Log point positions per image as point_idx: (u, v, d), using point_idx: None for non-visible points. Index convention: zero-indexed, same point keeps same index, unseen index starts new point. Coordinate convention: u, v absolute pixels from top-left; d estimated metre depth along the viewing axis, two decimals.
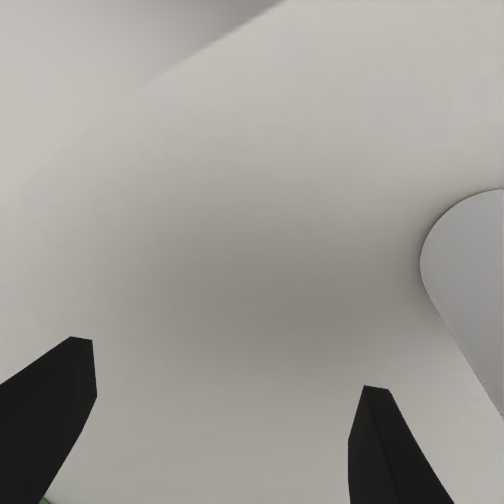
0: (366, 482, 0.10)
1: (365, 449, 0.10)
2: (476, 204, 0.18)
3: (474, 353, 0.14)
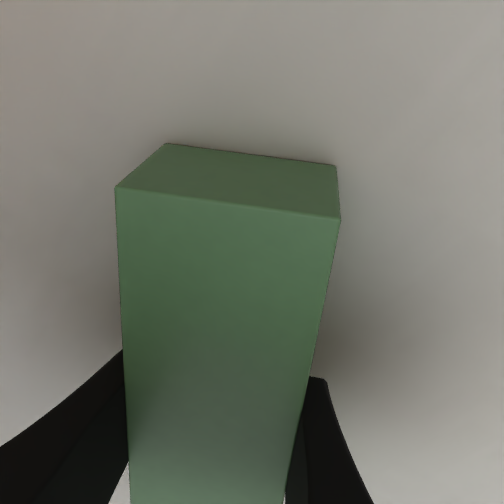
0: (293, 469, 0.10)
1: None
2: None
3: None
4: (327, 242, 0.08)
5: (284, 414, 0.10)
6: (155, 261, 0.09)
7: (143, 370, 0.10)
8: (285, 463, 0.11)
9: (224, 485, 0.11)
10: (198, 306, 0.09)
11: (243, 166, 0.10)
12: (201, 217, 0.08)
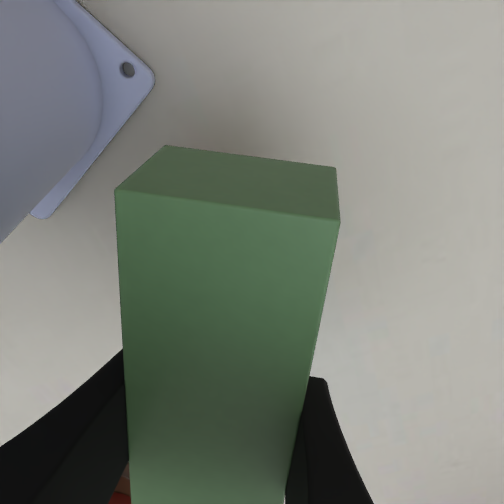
0: (294, 468, 0.10)
1: None
2: None
3: None
4: (326, 245, 0.08)
5: (284, 415, 0.10)
6: (155, 263, 0.09)
7: (143, 372, 0.10)
8: (285, 464, 0.11)
9: (224, 486, 0.12)
10: (198, 307, 0.09)
11: (243, 168, 0.10)
12: (200, 219, 0.08)
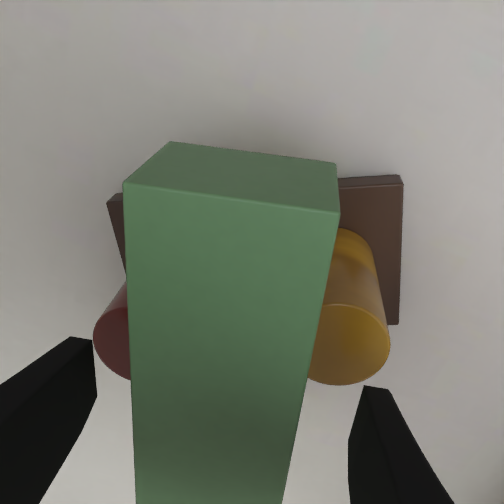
0: (366, 481, 0.10)
1: (365, 449, 0.10)
2: None
3: None
4: (326, 236, 0.08)
5: (285, 403, 0.10)
6: (161, 255, 0.09)
7: (149, 361, 0.10)
8: (286, 452, 0.11)
9: (226, 474, 0.12)
10: (202, 298, 0.09)
11: (246, 163, 0.10)
12: (206, 211, 0.08)
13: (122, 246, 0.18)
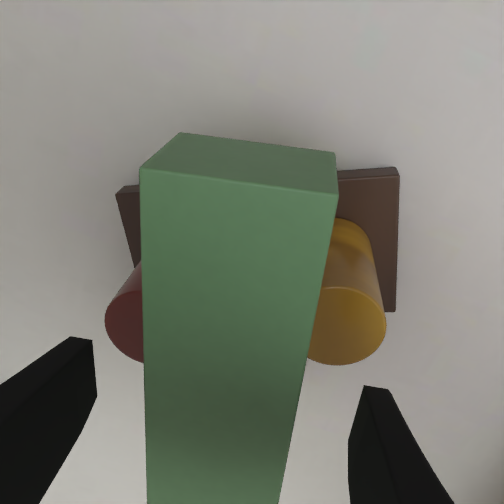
0: (366, 481, 0.10)
1: (365, 449, 0.10)
2: None
3: None
4: (326, 217, 0.09)
5: (287, 376, 0.11)
6: (173, 235, 0.10)
7: (161, 336, 0.11)
8: (288, 423, 0.12)
9: (232, 444, 0.13)
10: (211, 275, 0.10)
11: (251, 152, 0.11)
12: (216, 194, 0.09)
13: (130, 236, 0.19)
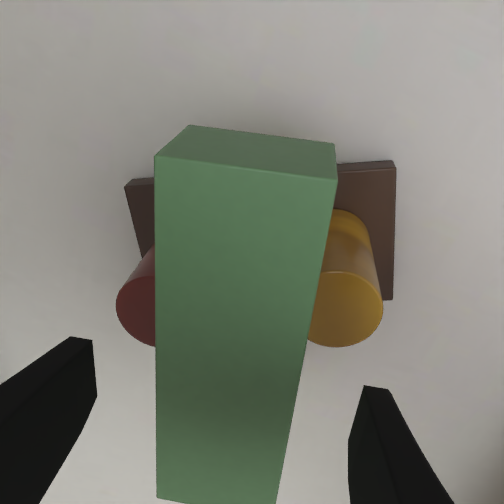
0: (366, 481, 0.10)
1: (365, 449, 0.10)
2: None
3: None
4: (326, 200, 0.10)
5: (290, 352, 0.12)
6: (185, 218, 0.11)
7: (172, 314, 0.12)
8: (291, 397, 0.13)
9: (238, 419, 0.13)
10: (220, 256, 0.11)
11: (256, 142, 0.12)
12: (225, 180, 0.10)
13: (138, 227, 0.20)
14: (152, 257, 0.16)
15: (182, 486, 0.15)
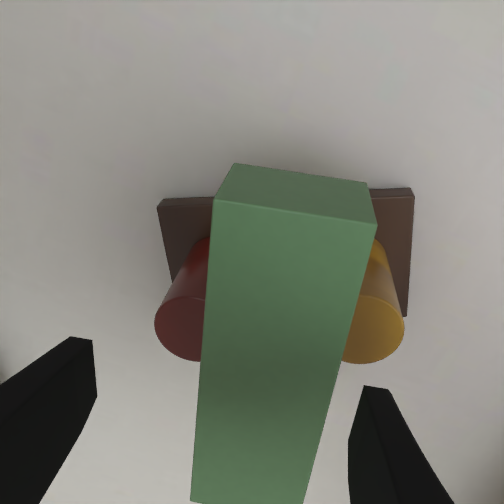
0: (366, 482, 0.10)
1: (365, 449, 0.10)
2: None
3: None
4: (366, 241, 0.11)
5: (325, 372, 0.13)
6: (237, 253, 0.12)
7: (218, 337, 0.13)
8: (323, 412, 0.14)
9: (272, 431, 0.15)
10: (266, 287, 0.12)
11: (298, 183, 0.13)
12: (276, 221, 0.11)
13: (168, 245, 0.21)
14: (188, 277, 0.18)
15: (215, 490, 0.16)
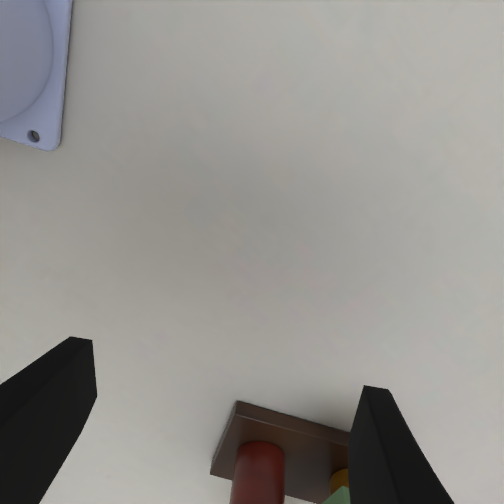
0: (366, 482, 0.10)
1: (365, 449, 0.10)
2: None
3: None
4: None
5: None
6: None
7: None
8: None
9: None
10: None
11: None
12: None
13: (229, 435, 0.27)
14: (258, 498, 0.24)
15: None
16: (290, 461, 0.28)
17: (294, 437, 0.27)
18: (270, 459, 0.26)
